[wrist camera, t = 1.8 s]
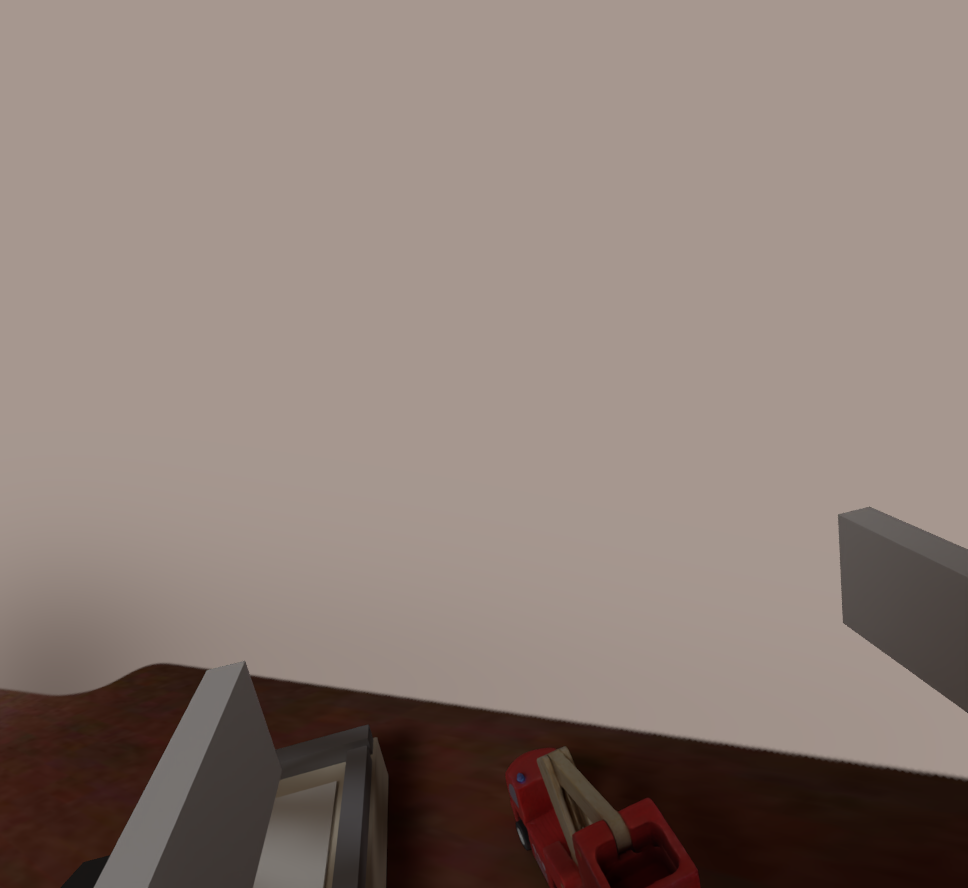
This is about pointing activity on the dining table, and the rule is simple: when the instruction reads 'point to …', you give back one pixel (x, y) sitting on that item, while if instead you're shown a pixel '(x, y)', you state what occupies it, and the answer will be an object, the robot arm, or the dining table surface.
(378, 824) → the dock
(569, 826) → the toy fire truck
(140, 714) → the dining table surface
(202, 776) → the robot arm
